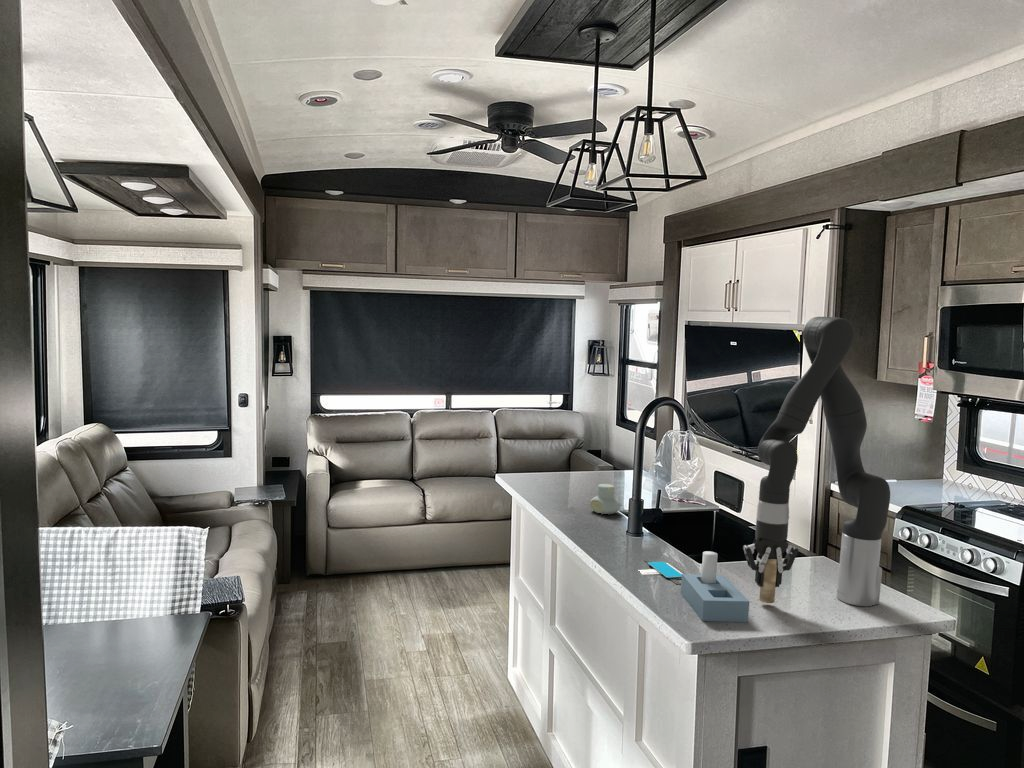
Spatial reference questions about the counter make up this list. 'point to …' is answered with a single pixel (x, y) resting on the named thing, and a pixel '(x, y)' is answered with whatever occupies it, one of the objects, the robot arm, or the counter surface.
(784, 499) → the robot arm
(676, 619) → the counter surface
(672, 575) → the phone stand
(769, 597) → the beech pin
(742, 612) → the bore block
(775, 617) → the counter surface
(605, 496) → the pale green pipe fitting
